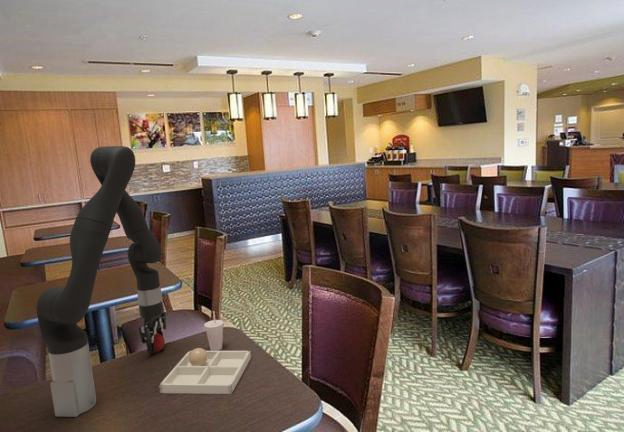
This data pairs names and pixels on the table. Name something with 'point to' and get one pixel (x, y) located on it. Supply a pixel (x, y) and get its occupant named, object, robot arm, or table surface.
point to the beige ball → (198, 357)
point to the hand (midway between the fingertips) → (156, 348)
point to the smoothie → (214, 333)
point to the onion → (158, 342)
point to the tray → (207, 374)
